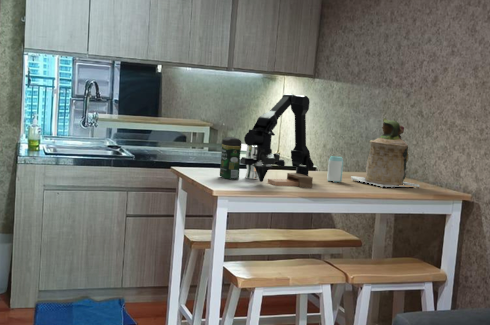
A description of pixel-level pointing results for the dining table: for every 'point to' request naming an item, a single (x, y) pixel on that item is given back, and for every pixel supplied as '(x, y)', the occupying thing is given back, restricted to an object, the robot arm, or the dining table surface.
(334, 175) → the white teal canister
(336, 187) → the dining table surface
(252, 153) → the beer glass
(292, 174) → the brown rectangular block
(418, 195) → the dining table surface
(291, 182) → the tile
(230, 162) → the coffee jar
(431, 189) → the dining table surface
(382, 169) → the cookie jar
